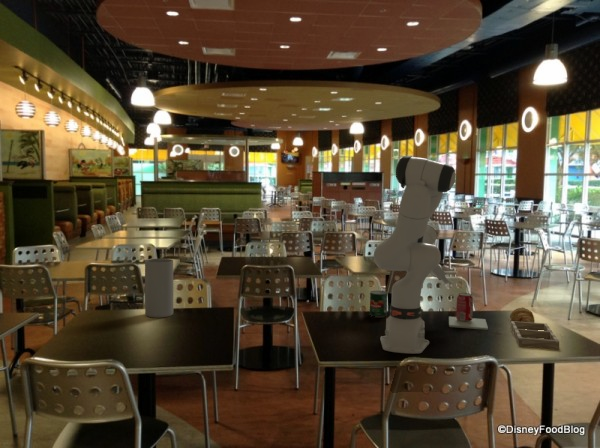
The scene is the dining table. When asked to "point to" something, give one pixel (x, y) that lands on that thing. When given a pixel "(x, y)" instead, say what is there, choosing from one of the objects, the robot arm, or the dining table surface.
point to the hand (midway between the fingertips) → (444, 280)
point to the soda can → (464, 307)
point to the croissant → (522, 315)
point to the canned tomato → (378, 303)
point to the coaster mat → (468, 323)
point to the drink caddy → (534, 335)
